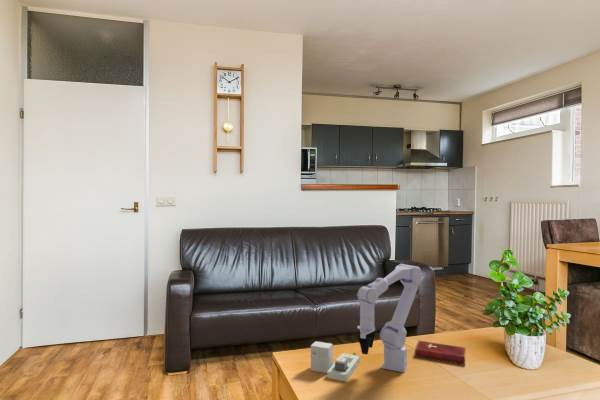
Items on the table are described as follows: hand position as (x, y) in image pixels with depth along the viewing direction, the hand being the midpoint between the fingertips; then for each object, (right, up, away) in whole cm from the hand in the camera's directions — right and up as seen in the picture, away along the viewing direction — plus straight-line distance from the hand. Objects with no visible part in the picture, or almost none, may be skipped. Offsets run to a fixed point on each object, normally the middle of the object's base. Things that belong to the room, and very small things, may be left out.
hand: (367, 350), depth 155 cm
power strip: (-7, -10, +8) cm, 15 cm away
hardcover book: (+37, -11, +19) cm, 43 cm away
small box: (-18, -10, +5) cm, 21 cm away
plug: (-10, -10, 0) cm, 14 cm away
